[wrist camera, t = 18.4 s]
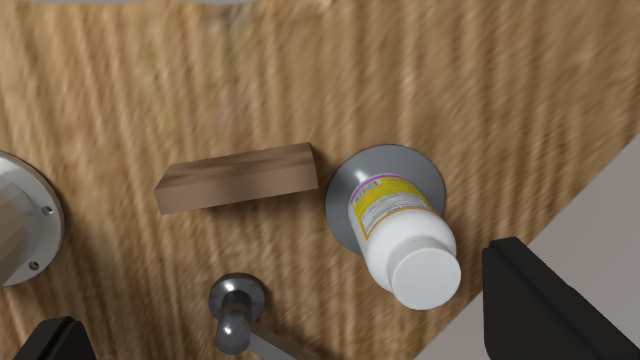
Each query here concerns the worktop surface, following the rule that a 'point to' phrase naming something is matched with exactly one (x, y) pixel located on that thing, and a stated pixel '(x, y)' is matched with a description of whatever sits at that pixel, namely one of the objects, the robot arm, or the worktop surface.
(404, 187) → the supplement bottle
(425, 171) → the coaster
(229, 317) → the lever
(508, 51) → the worktop surface
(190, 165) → the wooden plank block
